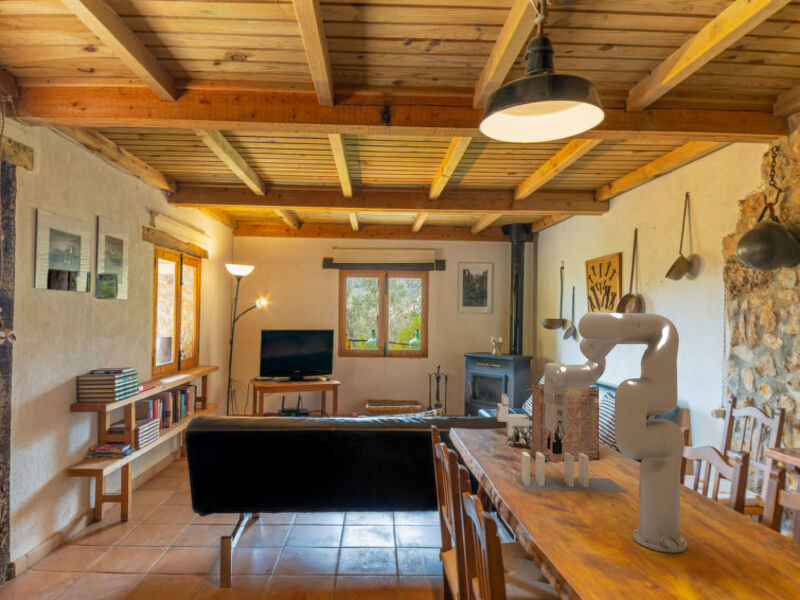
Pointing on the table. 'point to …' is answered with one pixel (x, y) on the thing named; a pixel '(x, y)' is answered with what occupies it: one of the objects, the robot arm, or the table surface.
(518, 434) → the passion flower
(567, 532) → the table surface
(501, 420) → the toy llama
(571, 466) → the domino
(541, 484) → the domino
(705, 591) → the table surface
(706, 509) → the table surface
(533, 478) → the domino mat
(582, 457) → the domino
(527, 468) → the domino
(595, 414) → the book
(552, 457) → the domino
